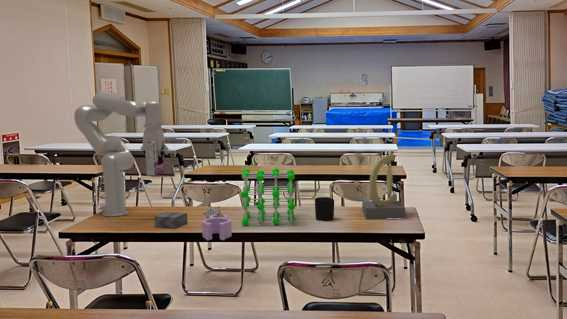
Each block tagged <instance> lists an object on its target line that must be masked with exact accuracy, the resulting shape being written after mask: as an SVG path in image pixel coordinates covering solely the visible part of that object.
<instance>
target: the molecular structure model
mask: <svg viewBox="0 0 567 319" xmlns="http://www.w3.org/2000/svg"><path fill="white" fill-rule="evenodd" d="M295 176H296V175H295V172H294V170H292V169H290V168H289V169H288V170H281V171H280V169H279V168H278V167H274V168H273V169H272V170H271V171H264V170H263V169H259V170H258V171H251V169H249V168H247V167H246V168H244V169H243V171H242V173H241V178H242V180H243V181H244V183H243V185H244V186H243V187H242V191H241V192H240V197H241V198H243V202H242V204H241V205H242V208H243V210H244V214H243V215H242V216H243V218H242V220H241V225H242V226H245V227H246V226H248V225H249V224H260V225H262V224H268V223H270V224H273V225H274V226H279V225H280V224H281V223H282V224H284V223H289V224H291V225H292V224H293V223H294V221H295V219H296V218H295V216H294V214H295V211H294V209H296V205H295V199H294V198H293V197H292V196H293V195H294V193H295V189H294V184H293V183H292V182H293V181H294V180H295V178H296V177H295ZM248 179H252V180H253V179H256V181H258V182H259V183H258V185H256V186H250V185H249V184H248V183H249V182H248V181H249V180H248ZM264 179H273V180H274V185H272V186H271V185H269V186H268V185H267V186H266V185H265V184H264V183H263V180H264ZM278 179H287V180H288V181H289V182H288V183H287V184H286V185H278V184H277V182H278ZM264 195H265V196H269V195H270V196H271V195H272V197H271V198H264V197H263V196H264ZM281 195H289V196H288V197H286V198H285V197H283V198H282V197H280V196H281ZM250 196H259V198H251V197H250ZM251 203H253V204H251ZM254 203H257V204H254ZM265 203H272V204H265ZM280 203H287V204H280ZM269 208H270V209H272V208H273V209H274V211H273V212H266V210H264V209H269ZM279 208H280V209H282V208H288V209H287V211H286V212H284V211H283V212H279V211H278V209H279ZM249 209H257V210H258V212H251V211H249ZM270 214H271V215H270ZM286 214H287V215H286ZM267 217H268V218H267ZM280 217H283V218H280Z"/></svg>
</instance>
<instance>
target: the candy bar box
mask: <svg viewBox="0 0 567 319" xmlns="http://www.w3.org/2000/svg"><path fill="white" fill-rule="evenodd" d="M145 154H146V156H145V167H146V168H145V169H146V177H147V176H149V177H152V176H153V177H155V176H158V175H161V174H164V173H165V165H164V164H165V162H164V159H165V158H164V157H163V164H161V165H158V157H159V155H158V151H157V150H156V142H154V141H148V142H145ZM145 154H144V155H145Z"/></svg>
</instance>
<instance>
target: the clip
mask: <svg viewBox="0 0 567 319" xmlns="http://www.w3.org/2000/svg"><path fill="white" fill-rule="evenodd" d="M221 215H222V217H221V218H217V215H212V216H210V218H209V219H207V218H205V219H202V221H201V225H202V226H201V227H202V230H201V231H202V238H204V239H205V240H206V241H210V240H213V235H215V234H216V235H217V234H219V240H221V241H225V240H226V239H230V238H231V237H232V234H233V232H232V219H231V218H229V215H228V214H221Z"/></svg>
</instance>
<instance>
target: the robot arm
mask: <svg viewBox="0 0 567 319" xmlns="http://www.w3.org/2000/svg"><path fill="white" fill-rule="evenodd" d="M161 106H162V105H161V103H160V101H155V100H154V101H153V100H152V101H147V100H134V101H133V100H132V101H131V100H125V98H124V97H123V96H122V95H119V94H118V93H116V92H112V91H111V92H110V91H108V92H107V91H104V92H102V91H101V92H98V93H96V94H95V95H94V96H92V104H87V105H81V106H79V107H77V108H76V109H75V110H74V115H73V116H74V123H75V125H76V127H77V129H78V130H79V131H80V132H81V133H82V134H83V136H84V137H85V138H86V140H87V141H88V143H89V145H90V146H91V148H92V149H93V151H94V152H95V153H96V154H97V155H99V156H102V158H101V161H100V165H101V169H102V174H103V181H104V182H103V184H104V202H105V204H104V205H101V206H100V207H99V210H101V211H103V212H102V216H103V217H123V216H126V215H128V214H129V210H127V209H125V208H126V207H125V205H126V204H125V203H126V201H125V184H124V178H123V177H124V176H123V175H122V173H121V171H126V170H129V169H132V168H133V166H134V162H135V160H134V156H133V154H132V152H131V151H130V150H129V148H128V147H127V146H126V144H125V143H124V141H123V139H121V138H120V137H119V136H116V135H105V133H103V131H102V129H101V128H100V127H99V125H97V124H95V123H93V122H101V121H104V120H107V118H108V117H110V116H111V115H112V114H113V113H116V114H117V115H119V116H124V117H128V118H137V117H145V118H144V119H145V120H144V121H145V122H144V124H143V128H144V130H143V135H142V146H141V147H140V151H141V152H143V154H144V155H145V157H146V154H145V142H148V141H154V142H156V150H157V151H158V155H159V157H158V165H161V164H163V158H164V155H165V154H166V153H167V152H168V151H169V148H168V146H167V145H166V143H165V135H164V131H163V129H162V111H161V110H162V107H161Z"/></svg>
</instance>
